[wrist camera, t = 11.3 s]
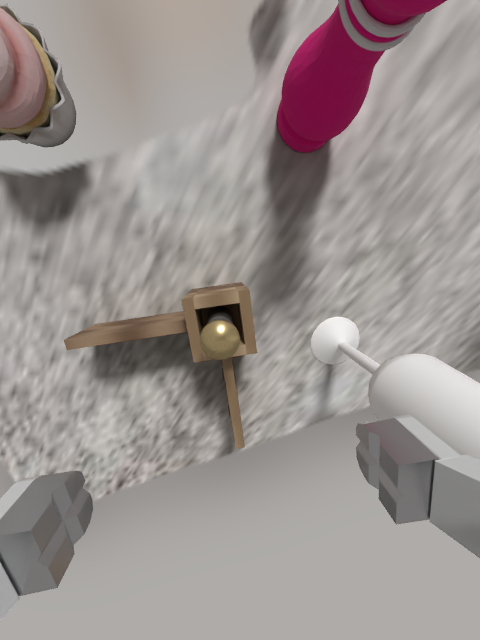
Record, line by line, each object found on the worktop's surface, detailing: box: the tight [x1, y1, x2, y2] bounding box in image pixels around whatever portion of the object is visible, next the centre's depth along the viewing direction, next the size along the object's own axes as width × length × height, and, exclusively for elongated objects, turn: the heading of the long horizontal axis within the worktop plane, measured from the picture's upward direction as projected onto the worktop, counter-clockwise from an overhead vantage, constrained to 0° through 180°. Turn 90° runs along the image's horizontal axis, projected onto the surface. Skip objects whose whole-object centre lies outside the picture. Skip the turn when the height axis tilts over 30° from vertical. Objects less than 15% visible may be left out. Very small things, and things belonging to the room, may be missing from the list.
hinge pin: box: [200, 306, 240, 360], centre depth 22 cm, size 3×3×8 cm
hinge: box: [64, 282, 257, 449], centre depth 27 cm, size 18×18×8 cm
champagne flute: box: [311, 317, 480, 460], centre depth 20 cm, size 7×7×24 cm
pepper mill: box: [277, 0, 447, 153], centre depth 16 cm, size 7×7×20 cm
